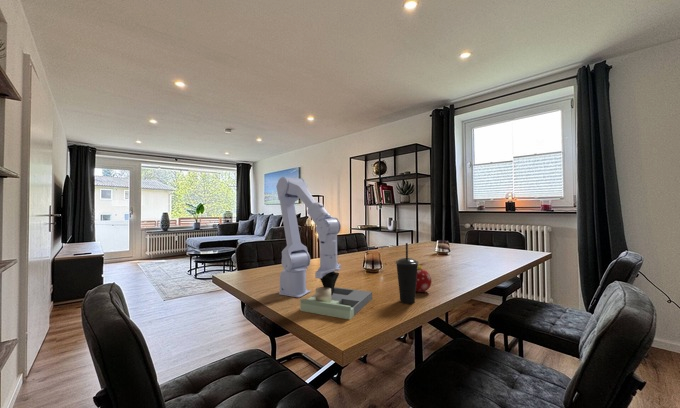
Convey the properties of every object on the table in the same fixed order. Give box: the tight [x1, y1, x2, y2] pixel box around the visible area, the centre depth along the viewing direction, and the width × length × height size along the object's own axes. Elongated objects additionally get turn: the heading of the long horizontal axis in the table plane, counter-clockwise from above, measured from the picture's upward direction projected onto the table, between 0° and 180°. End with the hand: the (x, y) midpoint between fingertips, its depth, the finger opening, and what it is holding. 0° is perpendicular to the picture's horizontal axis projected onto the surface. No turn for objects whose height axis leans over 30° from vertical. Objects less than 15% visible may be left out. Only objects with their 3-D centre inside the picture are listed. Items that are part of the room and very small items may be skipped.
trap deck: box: [299, 286, 373, 320], centre depth 94 cm, size 17×20×4 cm
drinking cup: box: [395, 242, 419, 305], centre depth 96 cm, size 8×8×20 cm
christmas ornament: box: [416, 264, 432, 293], centre depth 107 cm, size 9×9×10 cm
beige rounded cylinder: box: [315, 286, 331, 303], centre depth 89 cm, size 5×5×4 cm
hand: (329, 295), depth 93 cm, fingers closed
